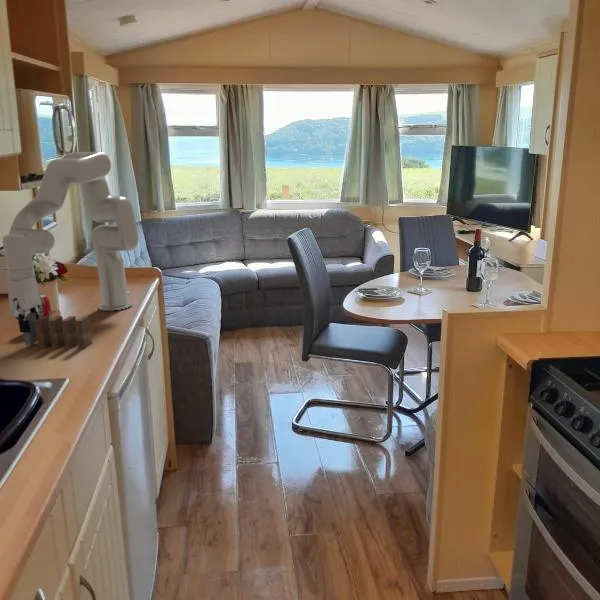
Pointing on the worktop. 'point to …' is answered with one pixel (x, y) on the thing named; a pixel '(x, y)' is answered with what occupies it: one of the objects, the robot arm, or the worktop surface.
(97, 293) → the worktop surface
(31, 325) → the charcoal tile
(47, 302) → the soda can
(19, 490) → the worktop surface
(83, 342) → the walnut tile
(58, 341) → the walnut tile
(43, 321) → the walnut tile
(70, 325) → the walnut tile
